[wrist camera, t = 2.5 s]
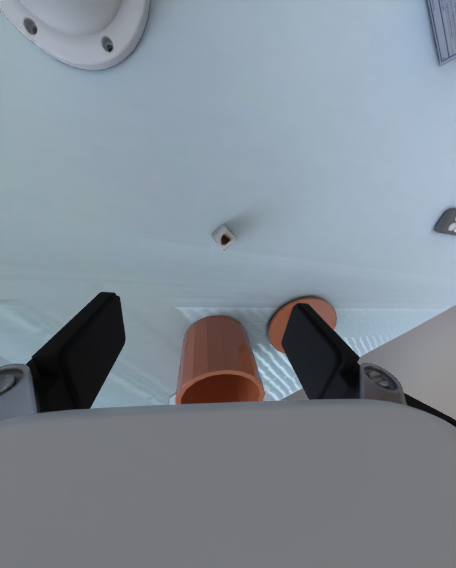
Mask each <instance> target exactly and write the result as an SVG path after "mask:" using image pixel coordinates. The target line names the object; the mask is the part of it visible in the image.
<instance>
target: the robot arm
mask: <svg viewBox="0 0 456 568" xmlns="http://www.w3.org/2000/svg"><path fill="white" fill-rule="evenodd" d="M149 6H150V0H0V10H1V11H2V13H3V14H4V15H5V16H6V18H7V19H8V20H9V21H10V22H12V23H13V24H14V25H15V26H16V27H17V28H18V29H19V30H20V31H21V32H22V33H23V34H24V35H25V36H26V37H27V38H28V39H30V40H31V41H32V42H33V43H34V44H35V45H37V46H38V47H39V48H40V49H41V50H43V51H44V52H46V53H48V54H49V55H51V56H52V57H54V58H55V59H57V60H59V61H61V62H63V63H66V64H68V65H70V66H72V67H76V68H81V69H85V70H103V69H106V68H109V67H113V66H115V65H117V64H118V63H120V62H121V61H123V60H124V59H126V58H127V57H128V56H129V54H130V53H131V52H132V51H133V50H134V49H135V47H136V46H137V44H138V42H139V40H140V38H141V36H142V34H143V32H144V28H145V25H146V21H147V18H148V14H149ZM110 48H113V50H112V51H111V52H109V49H110ZM124 344H125V330H124V323H123V316H122V309H121V302H120V297H119V296H116V294H115V293H110V292H100V293H99V294H98V295H97V296H96V297H95V298H94V299H93V300H92V301H91V302H90V303H88V304H87V305H86V306H85V307H84V308H83V309H82V310H81V311H80V312H79V313H78V314H77V315H76V316H75V317H74V318H73V319H71V320H70V321H69V322H68V323H67V324H66V325H65V326H64V327H63V328H62V329H61V330H60V331H59V332H58V333H57V334H56V335H54V336H53V337H52V338H51V339H50V340H49V341H48V342H47V343H46V344H45V345H44V346H43V347H42V348H41V349H40V350H39V351H37V352H36V353H35V354H34V355H33V356H32V359H31V360H30V361H29V362H28V363H27V364H26V365H24V364H9V365H4V366H1V367H0V568H456V420H454V419H453V418H451V417H449V416H447V415H445V414H443V413H441V412H439V411H438V410H436V409H434V408H432V407H430V406H428V405H426V404H424V403H422V402H420V401H418V400H416V399H414V398H413V397H410V396H409V395H407V394H405V393H404V392H403V389H402V386H401V384H400V382H399V381H398V380H397V379H396V378H395V377H394V376H393V375H392V374H391V373H389V372H388V371H386V370H385V369H383V368H381V367H380V366H377V365H375V364H372V363H363V364H361V365H359V364H358V363H357V362H358V360H359V358H360V357H359V356H358V355H357V354H356V353H355V352H354V351H353V350H352V349H351V348H350V347H349V346H348V345H347V344H346V343H345V342H344V341H343V340H342V339H341V337H340V336H339V335H338V334H337V333H336V332H335V331H334V330H333V329H332V328H331V327H330V326H329V325H328V324H327V323H326V322H325V321H324V320H323V319H322V317H321V316H320V315H319V314H318V313H317V312H316V311H315V310H314V309H313V308H312V307H311V306H310V305H309V304H308V303H297V304H296V305H294V306H293V308H292V311H291V314H290V317H289V320H288V323H287V326H286V329H285V332H284V335H283V338H282V341H281V344H282V347H283V349H284V351H285V353H286V355H287V357H288V359H289V361H290V363H291V365H292V367H293V369H294V371H295V373H296V375H297V377H298V379H299V381H300V383H301V385H302V387H303V388H304V391H305V392H306V394H307V396H308V398H309V400H282V401H253V402H226V403H200V404H176V405H153V406H130V407H111V408H94V409H90V407H91V406H92V404H93V402H94V400H95V398H96V396H97V395H98V393H99V391H100V389H101V387H102V385H103V383H104V382H105V380H106V378H107V376H108V374H109V372H110V370H111V368H112V367H113V365H114V363H115V361H116V359H117V357H118V355H119V353H120V352H121V350H122V348H123V346H124Z"/></svg>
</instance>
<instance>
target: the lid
mask: <svg viewBox="0 0 456 568" xmlns="http://www.w3.org/2000/svg"><path fill="white" fill-rule="evenodd" d="M297 303H308V304H309V305H310V306H311V307H312V308H313V309H314V310H315V311H316V312H317V313H318V314H319V315H320V316H321V317H322V319H323V320H324V321H325V322H326V323H327V324H328V325H329V326H330V327H331V328H332V329H333V330H334V328H335V326H336V320H337V317H336V312H335V310H334V308H333V307H332V306H331V305H330V304H329V303H328V302H326V301H325V300H322V299H319V298H313V297H307V298H301V299H298V300H295V301H292V302H290V303H288V304H287V305H285V306H284V307H282V308H281V309H280V310H279V311H278V312H277V313H276V314H275V315H274V317H273V318H272V320H271V322H270V324H269V328H268V337H269V340H270V342H271V344H272V346H273V347H274V348H275V349H276V350H278V351H280V352H282V353H285V351H284V349H283V347H282V344H281V341H282V338H283V335H284V332H285V329H286V326H287V323H288V320H289V317H290V314H291V311H292V308H293V306H294V305H296V304H297Z"/></svg>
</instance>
